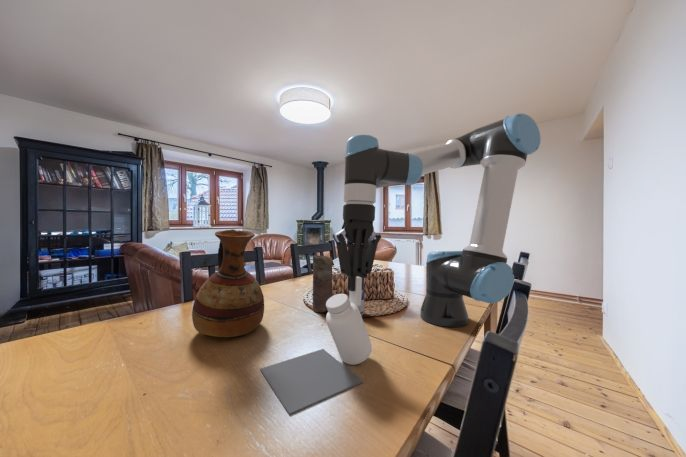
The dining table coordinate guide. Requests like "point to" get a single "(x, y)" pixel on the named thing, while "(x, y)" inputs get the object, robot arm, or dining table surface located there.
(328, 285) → the candle
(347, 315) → the pill bottle
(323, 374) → the mat
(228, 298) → the ceramic pitcher
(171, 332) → the dining table surface
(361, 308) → the energy drink
